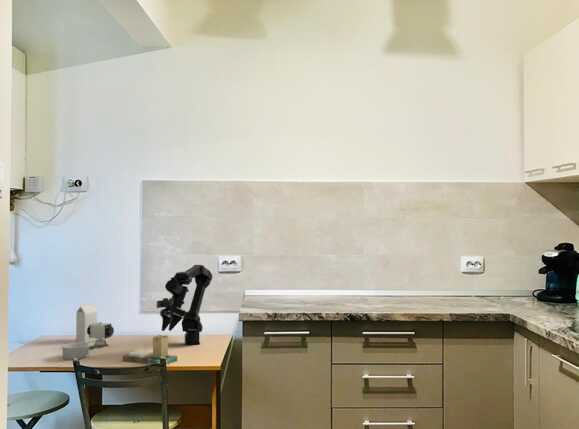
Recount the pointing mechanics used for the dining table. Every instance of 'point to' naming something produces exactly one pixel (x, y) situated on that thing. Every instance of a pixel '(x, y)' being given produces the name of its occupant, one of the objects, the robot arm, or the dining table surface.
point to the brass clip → (160, 346)
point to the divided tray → (146, 357)
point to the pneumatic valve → (100, 332)
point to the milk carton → (85, 322)
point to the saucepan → (78, 349)
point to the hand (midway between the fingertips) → (166, 330)
